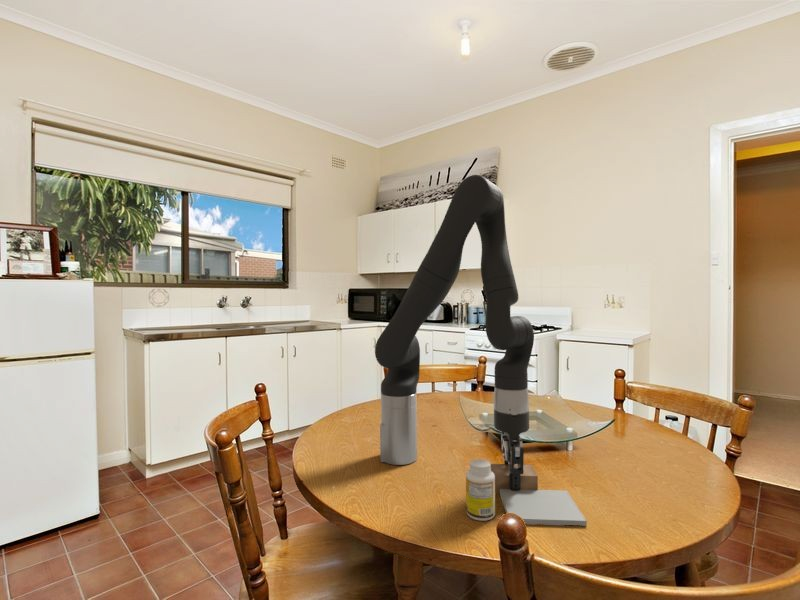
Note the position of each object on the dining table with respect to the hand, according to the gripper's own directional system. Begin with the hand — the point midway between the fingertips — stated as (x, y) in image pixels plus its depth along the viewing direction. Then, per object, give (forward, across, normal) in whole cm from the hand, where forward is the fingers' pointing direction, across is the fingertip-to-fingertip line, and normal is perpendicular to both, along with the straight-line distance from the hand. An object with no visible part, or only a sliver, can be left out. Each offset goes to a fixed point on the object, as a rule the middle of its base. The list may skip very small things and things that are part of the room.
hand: (512, 482), depth 96 cm
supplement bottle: (+1, +12, -8) cm, 15 cm away
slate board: (+1, +9, +4) cm, 10 cm away
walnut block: (+1, 0, 0) cm, 1 cm away
